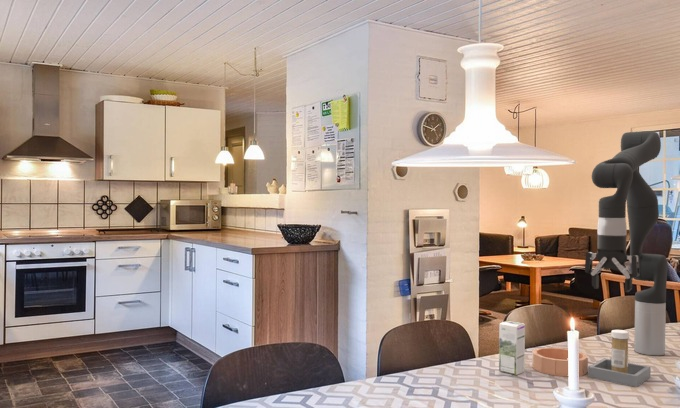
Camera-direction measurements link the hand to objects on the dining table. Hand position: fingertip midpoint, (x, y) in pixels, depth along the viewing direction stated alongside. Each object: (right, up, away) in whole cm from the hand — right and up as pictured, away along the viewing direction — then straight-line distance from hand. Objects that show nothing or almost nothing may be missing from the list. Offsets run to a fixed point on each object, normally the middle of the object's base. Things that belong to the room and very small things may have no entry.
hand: (611, 290), depth 168 cm
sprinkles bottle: (+3, -26, +2) cm, 26 cm away
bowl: (-11, -25, +10) cm, 29 cm away
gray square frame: (+3, -26, +2) cm, 26 cm away
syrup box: (-27, -26, +7) cm, 37 cm away
